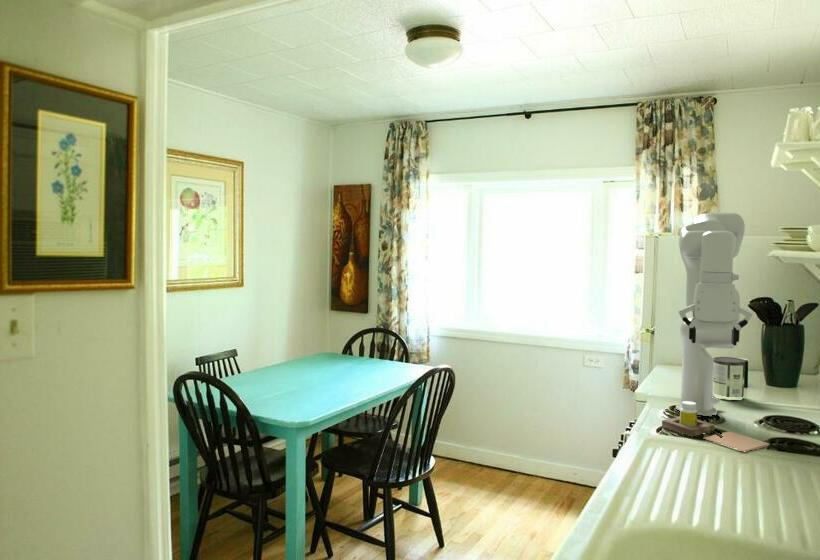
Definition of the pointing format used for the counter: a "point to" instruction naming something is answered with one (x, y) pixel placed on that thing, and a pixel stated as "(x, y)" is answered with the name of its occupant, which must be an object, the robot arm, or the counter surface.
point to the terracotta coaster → (737, 441)
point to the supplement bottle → (688, 414)
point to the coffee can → (728, 376)
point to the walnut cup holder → (690, 431)
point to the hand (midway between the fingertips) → (713, 343)
